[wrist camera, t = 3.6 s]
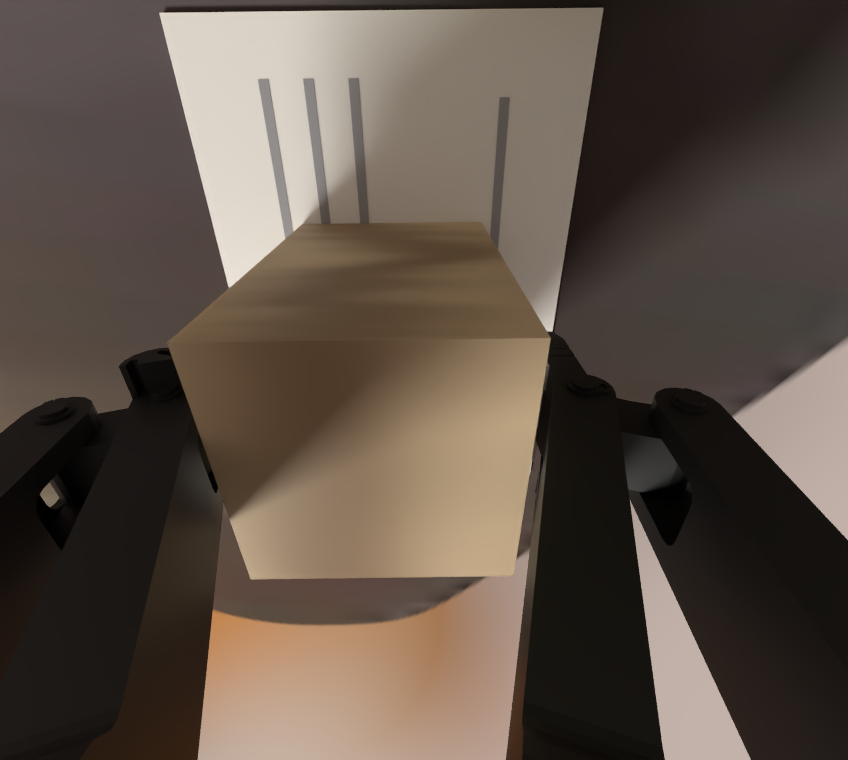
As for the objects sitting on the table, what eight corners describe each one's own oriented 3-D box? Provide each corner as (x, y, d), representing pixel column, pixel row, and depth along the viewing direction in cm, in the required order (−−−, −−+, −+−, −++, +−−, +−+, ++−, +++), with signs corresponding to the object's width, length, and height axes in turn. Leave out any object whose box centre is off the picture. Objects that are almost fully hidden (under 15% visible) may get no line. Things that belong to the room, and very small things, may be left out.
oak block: (481, 221, 14) (550, 338, 7) (472, 375, 18) (513, 575, 10) (302, 223, 14) (166, 342, 7) (325, 377, 18) (250, 579, 10)
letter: (601, 8, 12) (603, 7, 12) (529, 472, 21) (530, 474, 20) (162, 14, 12) (159, 12, 12) (278, 475, 21) (276, 478, 20)
